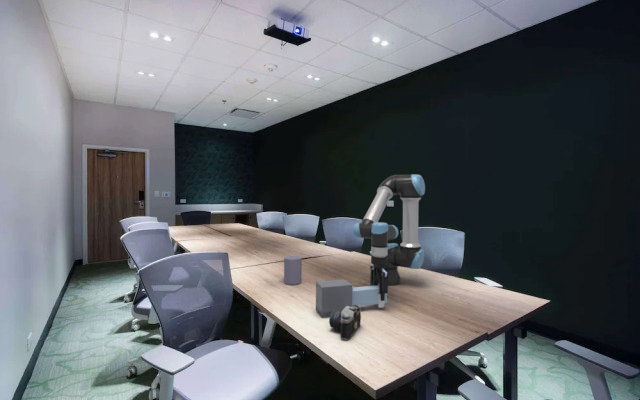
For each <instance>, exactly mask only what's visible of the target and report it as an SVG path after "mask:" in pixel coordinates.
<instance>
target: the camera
mask: <svg viewBox="0 0 640 400" xmlns="http://www.w3.org/2000/svg"><path fill="white" fill-rule="evenodd" d="M361 311H362V310H361V306H358V305H351V307H349V306H346V307H345V308H344V309H343V310H342V311H332V313H331V315H330V317H328V318H329V320H328V321H329V322H328V323H329V327H330V328H333V329H335V330H338V331H340V339H341V340H345V341H349V340H350V339H351V338H352V337H353V335H355V333H356V331H357V330H358V328H360V327H361V320H362V316H361Z"/></svg>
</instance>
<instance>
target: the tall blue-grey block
mask: <svg viewBox="0 0 640 400" xmlns="http://www.w3.org/2000/svg"><path fill="white" fill-rule="evenodd" d="M379 292H380V290H379V284H378V285H375V286H370V285H366V286H356V287H355V286H353V291H352V305H358V306H359V307H362V306H363V307H364V306H371V305H378V301H379V294H378V293H379ZM387 303H388V293H385V302H384V304H387Z"/></svg>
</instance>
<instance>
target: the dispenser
mask: <svg viewBox="0 0 640 400" xmlns="http://www.w3.org/2000/svg"><path fill="white" fill-rule="evenodd" d="M353 287H354V286H353V284H352V283H351V282H349V281H348V280H346V279H331V280H320V281H315V311H316V313H317V314H318V316H320V318H321V319H326V318H330V315H331V313H332V311H342V310H343V309H344V308H345V307H346V306H349V307H351V305H352V291H353Z"/></svg>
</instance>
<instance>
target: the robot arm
mask: <svg viewBox="0 0 640 400" xmlns="http://www.w3.org/2000/svg"><path fill="white" fill-rule="evenodd" d="M425 193H426V184H425V180H424V178H423V177H422V175H420V174H413V173H412V174H394V175H391V176H388V177H387V178H386V179H384V180H383V181H382V182H381V183H380V184H379V186H378V188H377V190H376V195H375V197H374V199H373V201H372V202H371V204H370V206H369V208H368V210H367V211H366V214H365V215H364V217H363V219H362V220H361V222H356V223H355V224H354V225H353V227H352V232H353V235H354V237H356V238H361V239H370V240H371V246H370V247H371V249H370V251H371V253H370V254H371V257H370V263H371V264H372V265H370V266H369V267H370V277H369V278H370V282H369V283H370V285H369V286H375V285H379V290H380V292H379V293H378V294H379V301H378V304H377V305H378V306H377V307H378V308H385V303H384V302H385V293H387V294H388V293H389V289H388V288H389V286H396V285H400V284H401V277H400V274H399V271H398V267H401V268H406V269H412V270H419V269H420V268H421V267H423V266H422V265H423V263H424V262H425V261H424V260H425V250H424V249H423V248H422V245H421V244H420V242H419V202H420V200H421V199H422V196H424V195H425ZM396 195H398V196H399V198H400V200H401V201H402V242H401V243H400V245H399V244H398V243H395V242H392V243H391V242H390V243H389V241H393V240H395V239H396V238H397V237H398V236H399V229H398V227H397V226H395V225H394V224H388V223H387V222H383V221H382V222H379V220H380V219H381V216H382V214H383V212H384V210H385V208H386V206H387V205H388V202H389V200H390V199H392V198H393V196H396Z"/></svg>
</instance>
